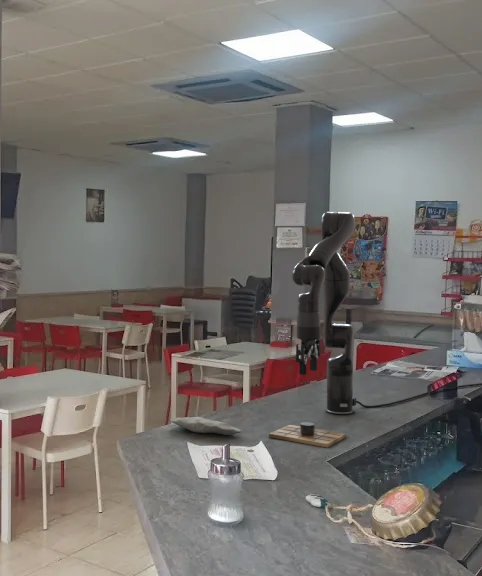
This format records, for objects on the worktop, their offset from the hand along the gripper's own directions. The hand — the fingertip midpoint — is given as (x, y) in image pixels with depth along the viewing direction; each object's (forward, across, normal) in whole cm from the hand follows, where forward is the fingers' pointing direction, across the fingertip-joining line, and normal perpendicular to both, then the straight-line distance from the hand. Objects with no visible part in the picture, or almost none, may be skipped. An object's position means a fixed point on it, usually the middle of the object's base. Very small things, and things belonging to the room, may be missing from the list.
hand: (308, 372), depth 240 cm
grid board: (+20, -7, -3) cm, 21 cm away
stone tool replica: (+20, -22, +26) cm, 40 cm away
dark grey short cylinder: (+19, -7, -3) cm, 20 cm away
